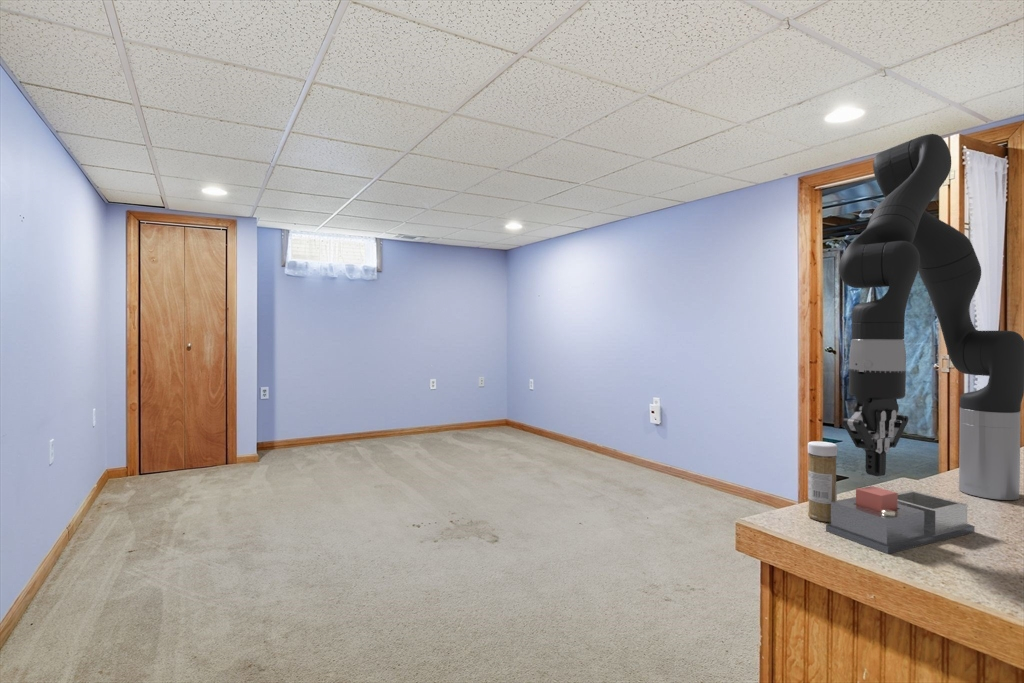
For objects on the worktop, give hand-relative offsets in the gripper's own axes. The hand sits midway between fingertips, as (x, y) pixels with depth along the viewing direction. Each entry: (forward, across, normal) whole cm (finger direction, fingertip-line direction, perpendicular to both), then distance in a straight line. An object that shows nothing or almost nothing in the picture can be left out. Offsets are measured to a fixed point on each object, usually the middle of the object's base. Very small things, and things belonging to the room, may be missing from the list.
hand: (875, 474), depth 86 cm
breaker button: (+8, 0, 0) cm, 8 cm away
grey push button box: (+10, -6, 0) cm, 12 cm away
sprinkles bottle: (+10, 0, -9) cm, 14 cm away
